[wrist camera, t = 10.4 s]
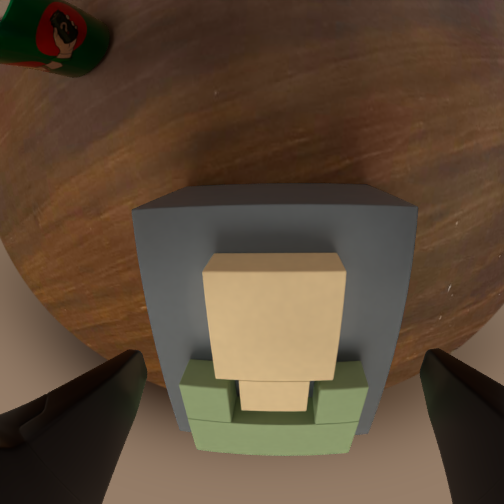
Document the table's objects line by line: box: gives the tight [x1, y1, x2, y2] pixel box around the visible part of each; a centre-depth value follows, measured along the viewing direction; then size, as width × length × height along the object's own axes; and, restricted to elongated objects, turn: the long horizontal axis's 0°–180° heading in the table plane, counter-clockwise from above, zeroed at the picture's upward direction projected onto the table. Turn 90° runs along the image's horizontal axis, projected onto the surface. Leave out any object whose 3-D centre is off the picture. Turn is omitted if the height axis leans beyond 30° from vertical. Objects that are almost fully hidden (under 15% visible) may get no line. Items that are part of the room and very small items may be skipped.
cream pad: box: [202, 253, 347, 411], centre depth 12 cm, size 5×7×2 cm
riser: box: [132, 183, 418, 435], centre depth 17 cm, size 12×14×8 cm
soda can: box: [0, 0, 110, 78], centre depth 11 cm, size 5×5×12 cm
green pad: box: [179, 359, 369, 456], centre depth 14 cm, size 8×6×2 cm, turn 92°
